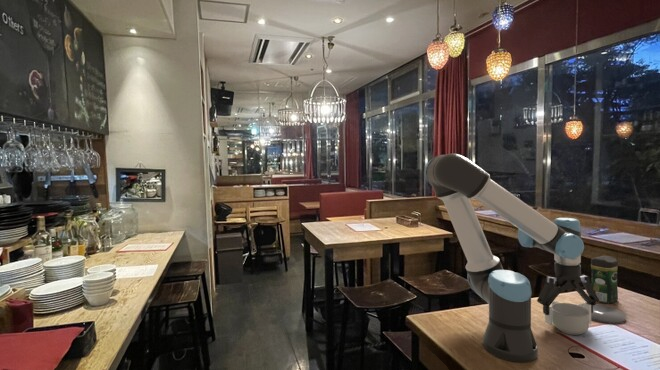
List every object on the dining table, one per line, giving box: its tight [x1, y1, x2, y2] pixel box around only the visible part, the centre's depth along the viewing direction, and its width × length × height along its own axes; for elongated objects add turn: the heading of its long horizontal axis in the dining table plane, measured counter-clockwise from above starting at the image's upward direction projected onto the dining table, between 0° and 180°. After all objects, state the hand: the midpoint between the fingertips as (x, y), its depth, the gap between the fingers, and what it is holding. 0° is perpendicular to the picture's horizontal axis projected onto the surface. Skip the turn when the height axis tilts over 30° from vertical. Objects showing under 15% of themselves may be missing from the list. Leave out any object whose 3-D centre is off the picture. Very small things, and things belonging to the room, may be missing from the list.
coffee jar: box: [590, 255, 619, 304], centre depth 143 cm, size 10×8×19 cm
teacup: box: [550, 300, 590, 336], centre depth 119 cm, size 14×11×8 cm
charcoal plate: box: [578, 303, 627, 325], centre depth 129 cm, size 15×15×2 cm
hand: (568, 322), depth 119 cm, fingers open, 13 cm apart
